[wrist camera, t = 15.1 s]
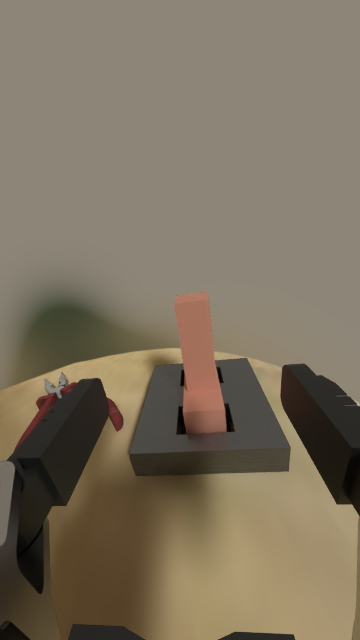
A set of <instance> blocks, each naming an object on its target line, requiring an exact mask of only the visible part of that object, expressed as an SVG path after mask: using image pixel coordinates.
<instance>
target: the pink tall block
mask: <svg viewBox="0 0 360 640" xmlns="http://www.w3.org/2000/svg"><path fill="white" fill-rule="evenodd" d="M174 306H175V312H176V319H177V326H178V332H179V339H180V345H181V352H182V359H183V365H184V372H185V376H184V399H183V416H184V422H185V428H186V434H204V433H224V432H227V430H226V416H225V407H224V402H223V398H222V393H221V388H220V383H219V379H218V374H217V369H216V364H215V360H214V350H213V339H212V327H211V316H210V305H209V298H208V295H207V292H202V293H193V294H185V295H177V296H176V299H175V303H174Z"/></svg>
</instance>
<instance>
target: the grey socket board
mask: <svg viewBox="0 0 360 640" xmlns="http://www.w3.org/2000/svg"><path fill="white" fill-rule="evenodd" d="M215 364H216V369H217V374H218V379H219V383H220V388H221V393H222V398H223V402H224V407H225V416H226V424H230V427H231V431H232V432H224V433H204V434H184V435H182V426H185V422H184V416H183V399H184V376H185V372H184V365H183V363H182V364H170V365H158V366H155V369H154V372H153V375H152V379H151V382H150V385H149V389H148V392H147V395H146V399H145V402H144V406H143V409H142V412H141V416H140V419H139V422H138V426H137V429H136V432H135V436H134V439H133V442H132V446H131V449H130V452H129V456H130V459H131V462H132V465H133V468H134V471H135V474H136V476H147V475H181V474H214V473H248V472H282V471H289V461H290V449H291V447H290V445H289V443H288V441H287V439H286V437H285V435H284V433H283V431H282V429H281V427H280V425H279V423H278V421H277V418H276V416H275V414H274V412H273V410H272V408H271V406H270V404H269V402H268V400H267V398H266V396H265V394H264V392H263V390H262V388H261V386H260V384H259V382H258V380H257V378H256V375H255V373H254V371H253V369H252V367H251V365H250V363H249V361H248V359H247V358H240V359H228V360H217V361H215Z"/></svg>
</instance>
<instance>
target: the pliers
mask: <svg viewBox="0 0 360 640" xmlns="http://www.w3.org/2000/svg"><path fill="white" fill-rule="evenodd" d="M44 380H45V389H46V391H47V393H48V395H47V396H42V397H40V398H39V399H38V400H37V402H36V404H37V406H38V408H39V411H38V413H37V414H36V416H35V417H34V419H33V420H32V422H31V423H30V425H29V426H28V428H27V429H26V431H25V432H24V434H23V435H22V437H21V438H20V440H19V442H18V444H17V446H16V448H15V450H16V449H17V448H18V447H19V445H20V444H21V443H22V442H23V441H24V440H25V438H26V437H27V436H28V435H29V434H30V432H31V431H32V430H33V429H34V428H35V427H36V425H37V424H38V423H39V422H41V419H42V418H43V417H44V416H45V415H46V413H49V410H50V409H51V408H52V406H53V405H54V404H55V403H56V402H57V401H58V400H59V399H60V398H61V397H63V396H64V395H65V394H67V393H68V392H71V390H72V389H73V388H74V387H75V385H76V384H77V383H75V382H73V383H71V384H70V385H68V382H67V380H66V378H65V376H64V374H63V372H62V373H61V376H60V378H59V386H58V387H57V388H54V387H53V385H52V384H51V383H50V382H49V381H48V380H46V379H44ZM107 400H108V403H109V415H108V416H109V418H110V419H111V421H112V423H113V425H114V427H115V429H116V431H119V430H120V429H121V428H122V426H123V417H122V415H121V413H120V411H119V410H118V408H117V406H116V405H115V403H114V402H113V401H112V400H111V399H109V398H107ZM15 450H14V451H15Z"/></svg>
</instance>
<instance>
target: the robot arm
mask: <svg viewBox="0 0 360 640" xmlns="http://www.w3.org/2000/svg"><path fill="white" fill-rule="evenodd" d="M281 402H282V406H283V408H284V410H285V412H286V414H287V416H288V418H289V419H290V421H291V423H292V425H293V427H294V428H295V430H296V432H297V434H298V436H299V437H300V439H301V441H302V443H303V444H304V446H305V448H306V450H307V452H308V453H309V455H310V457H311V459H312V461H313V462H314V464H315V466H316V468H317V470H318V471H319V473H320V475H321V477H322V478H323V480H324V482H325V484H326V486H327V487H328V489H329V491H330V493H331V495H332V496H333V498H334V500H335V502H336V504H352V505H353V506H354V508H355V510H356V511H357V513H358V514H359V520H358V547H357V591H356V612H355V620H354V625H353V631H352V640H360V406H357V403H355V402H354V401H353V400H352V399H351V398H350V397H348V396H347V394H346V393H345V392H344V391H343V390H342V389H341V388H340V387H339V386H338V385H337V384H336V383H334V382H332V381H331V380H329V379H327V378H325V377H324V376H322V375H319V376H316V375H315V373H313V371H312V370H311V369H310V368H309V367H308V366H307V365H305V364H291V365H284V366H283V368H282V380H281ZM108 415H109V403H108V400H107V397H106V394H105V391H104V388H103V384H102V382H101V380H100V379H99V378H92V379H81V380H80V381H79V382H78V383H77V384H76V385H75V387H74V388H73V389H72V390H71V392H68V393H67V394H65V395H64V396H63V397H61V398H60V399H59V400H58V401H57V402H56V403H55V404H54V405H53V406H52V408H51V409H50V410H49V413H46V415H45V416H44V417H43V418H42V419H41V422H39V423H38V424H37V425H36V427H35V428H34V429H33V430H32V431H31V432H30V434H29V435H28V436H27V437H26V438H25V440H24V441H23V442H22V443H21V444H20V445H19V447H18V448H17V449H16V450H15V451H14V453H13V454H12V455H11V456H10V457H9V458H8V460H7V461H3V462H0V640H60V633H59V627H58V621H57V617H56V613H55V610H54V607H53V603H52V597H51V575H50V543H49V520H48V518H47V515H48V513H49V511H50V509H51V507H52V506H66V505H67V503H68V501H69V499H70V497H71V495H72V493H73V491H74V489H75V486H76V484H77V482H78V480H79V478H80V476H81V474H82V472H83V470H84V467H85V465H86V463H87V461H88V459H89V457H90V455H91V453H92V451H93V448H94V446H95V444H96V442H97V440H98V438H99V436H100V434H101V431H102V429H103V427H104V425H105V423H106V421H107V419H108ZM68 640H145V639H143V638H141V637H140V636H138V635H137V634H135V633H133V632H132V631H130V630H128V629H127V628H125V627H123V626H103V625H81V624H73V626H72V629H71V632H70V636H69V639H68ZM218 640H295V637H294V635H293V634H272V633H251V632H234V633H231V634H229V635H227V636H225V637H223V638H221V639H218Z"/></svg>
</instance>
